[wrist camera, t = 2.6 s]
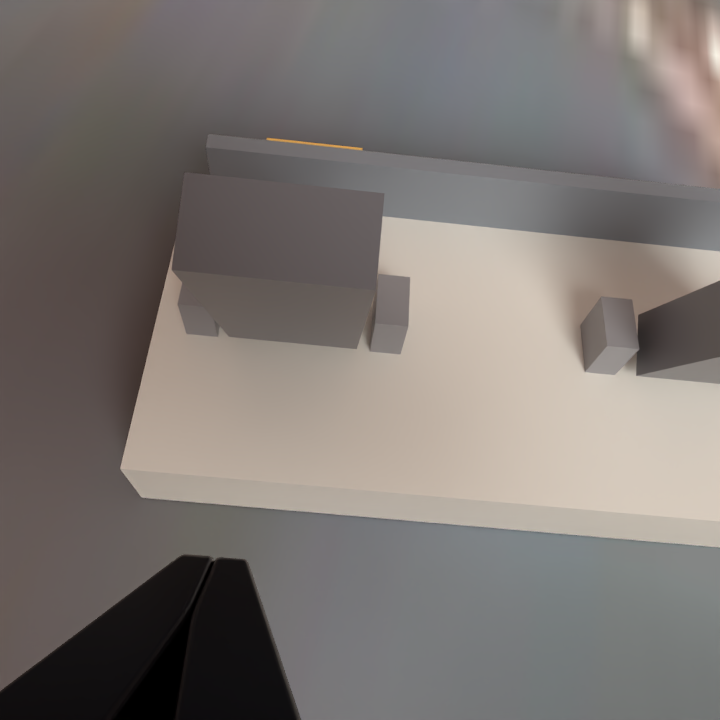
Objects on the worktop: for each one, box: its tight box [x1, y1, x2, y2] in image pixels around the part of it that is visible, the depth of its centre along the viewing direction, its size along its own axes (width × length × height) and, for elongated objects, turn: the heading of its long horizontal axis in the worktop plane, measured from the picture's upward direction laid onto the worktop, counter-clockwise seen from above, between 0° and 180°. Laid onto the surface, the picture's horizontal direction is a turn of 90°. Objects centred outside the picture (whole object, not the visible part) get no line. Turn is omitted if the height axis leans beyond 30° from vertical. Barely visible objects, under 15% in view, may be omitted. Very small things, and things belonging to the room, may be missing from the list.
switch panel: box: [120, 134, 720, 547], centre depth 22 cm, size 11×22×6 cm, turn 86°
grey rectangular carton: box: [171, 172, 385, 349], centre depth 17 cm, size 2×4×8 cm, turn 86°
